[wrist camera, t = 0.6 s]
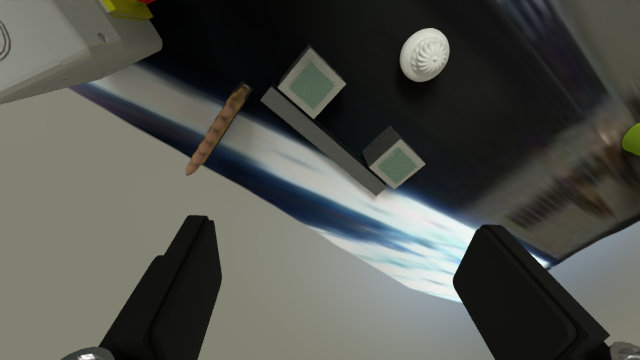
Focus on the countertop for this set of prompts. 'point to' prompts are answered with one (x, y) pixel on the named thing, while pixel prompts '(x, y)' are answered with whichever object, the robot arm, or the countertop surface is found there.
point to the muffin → (424, 55)
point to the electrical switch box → (69, 42)
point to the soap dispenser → (632, 140)
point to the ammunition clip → (220, 126)
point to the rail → (300, 111)
